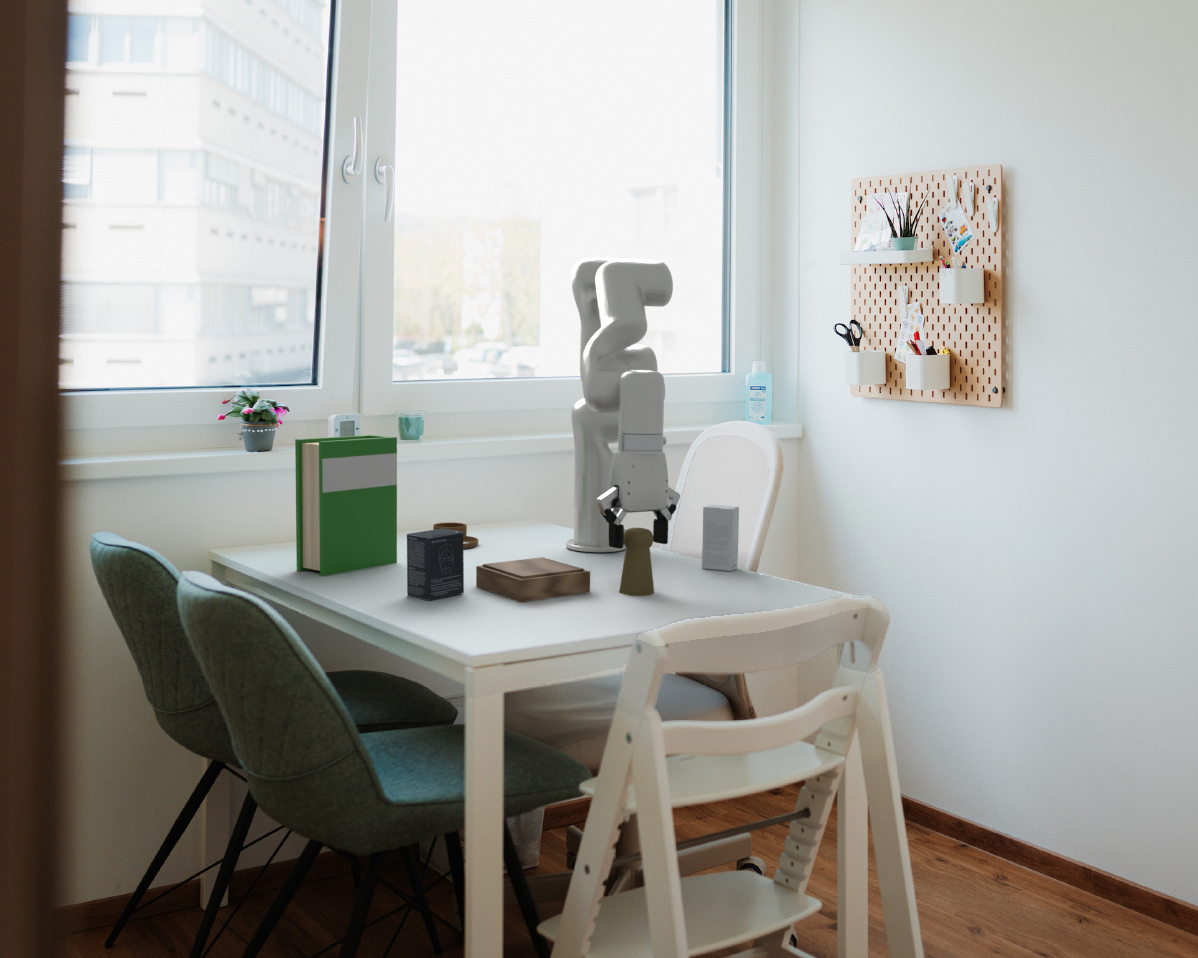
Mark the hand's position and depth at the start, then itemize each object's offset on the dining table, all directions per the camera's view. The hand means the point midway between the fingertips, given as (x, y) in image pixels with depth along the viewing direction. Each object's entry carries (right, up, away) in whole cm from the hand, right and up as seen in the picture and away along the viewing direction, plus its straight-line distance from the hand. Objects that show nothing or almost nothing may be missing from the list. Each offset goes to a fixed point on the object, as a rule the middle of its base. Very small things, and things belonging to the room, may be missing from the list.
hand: (638, 545), depth 183 cm
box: (-34, -8, -4) cm, 35 cm away
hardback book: (-54, -5, +19) cm, 57 cm away
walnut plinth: (-18, -8, +2) cm, 20 cm away
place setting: (-42, -3, +44) cm, 61 cm away
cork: (0, -8, +1) cm, 8 cm away
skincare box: (+16, -6, +24) cm, 30 cm away
